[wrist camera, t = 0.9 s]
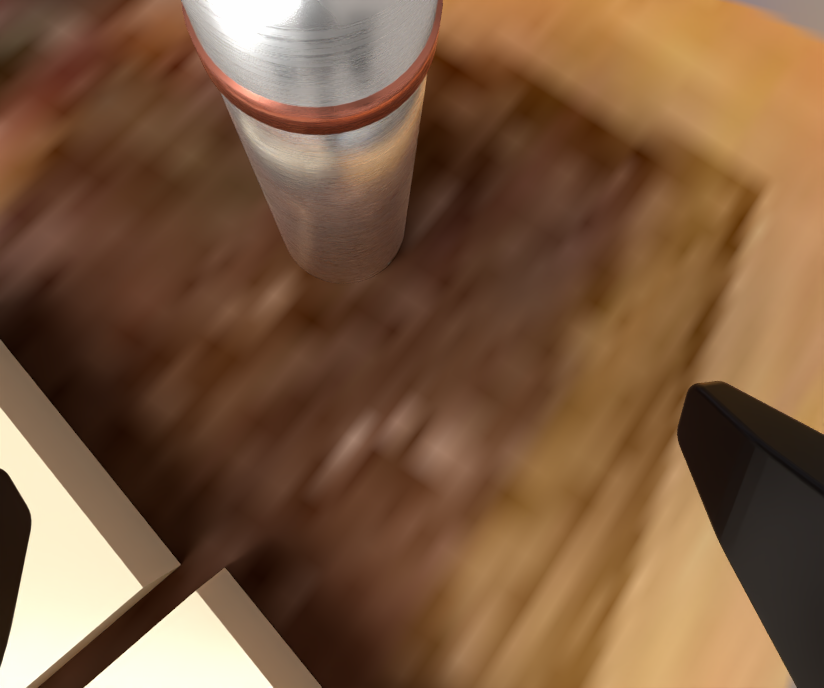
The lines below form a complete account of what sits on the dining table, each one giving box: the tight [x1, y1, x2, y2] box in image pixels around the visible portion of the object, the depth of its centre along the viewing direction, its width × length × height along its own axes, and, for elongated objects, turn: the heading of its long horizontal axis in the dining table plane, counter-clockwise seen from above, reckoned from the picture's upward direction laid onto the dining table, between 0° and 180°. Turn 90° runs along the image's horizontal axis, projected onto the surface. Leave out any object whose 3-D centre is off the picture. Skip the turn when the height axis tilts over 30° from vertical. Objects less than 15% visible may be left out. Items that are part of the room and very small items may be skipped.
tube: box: [181, 0, 443, 283], centre depth 16 cm, size 5×5×14 cm
